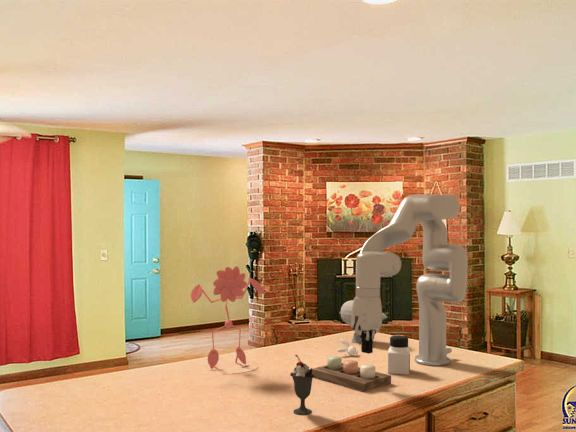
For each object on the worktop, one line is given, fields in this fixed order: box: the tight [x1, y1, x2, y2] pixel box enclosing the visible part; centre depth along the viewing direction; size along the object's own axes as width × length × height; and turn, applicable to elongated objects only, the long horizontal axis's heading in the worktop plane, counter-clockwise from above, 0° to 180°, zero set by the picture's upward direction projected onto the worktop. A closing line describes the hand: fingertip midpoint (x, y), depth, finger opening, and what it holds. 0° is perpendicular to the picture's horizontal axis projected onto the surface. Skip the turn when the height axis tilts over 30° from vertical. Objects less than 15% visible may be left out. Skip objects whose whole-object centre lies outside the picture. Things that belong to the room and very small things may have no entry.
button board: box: [312, 362, 392, 393], centre depth 183 cm, size 13×22×3 cm, turn 43°
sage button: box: [326, 355, 343, 371], centre depth 188 cm, size 5×5×4 cm
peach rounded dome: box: [342, 359, 359, 375], centre depth 183 cm, size 5×5×4 cm
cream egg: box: [360, 364, 376, 380], centre depth 178 cm, size 5×5×4 cm
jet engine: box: [340, 299, 389, 344], centre depth 238 cm, size 15×20×18 cm
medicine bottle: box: [387, 334, 411, 376], centre depth 194 cm, size 7×7×12 cm
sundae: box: [289, 354, 315, 416], centre depth 153 cm, size 7×7×15 cm
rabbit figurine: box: [336, 338, 359, 357], centre depth 216 cm, size 6×4×8 cm
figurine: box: [190, 265, 266, 375], centre depth 196 cm, size 15×26×35 cm, turn 115°
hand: (366, 352), depth 178 cm, fingers closed
